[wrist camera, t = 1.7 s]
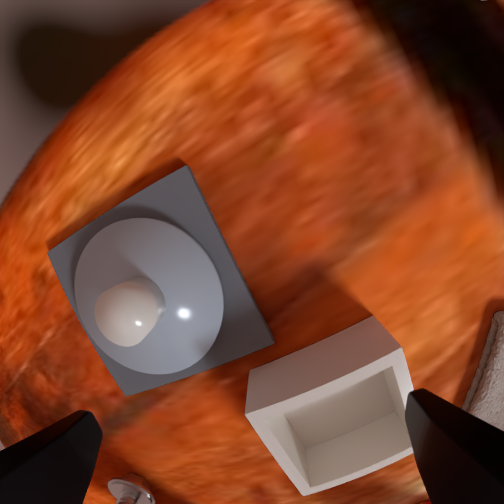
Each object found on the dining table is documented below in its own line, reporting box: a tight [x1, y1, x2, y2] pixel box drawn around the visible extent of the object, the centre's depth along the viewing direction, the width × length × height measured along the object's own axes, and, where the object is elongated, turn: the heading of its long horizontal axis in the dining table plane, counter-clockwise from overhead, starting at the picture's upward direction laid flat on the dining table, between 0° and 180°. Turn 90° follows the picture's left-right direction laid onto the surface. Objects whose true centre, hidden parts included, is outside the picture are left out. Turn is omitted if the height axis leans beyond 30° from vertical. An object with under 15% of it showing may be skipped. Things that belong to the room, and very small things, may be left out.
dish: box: [245, 316, 414, 496], centre depth 18 cm, size 9×9×5 cm
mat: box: [47, 165, 274, 396], centre depth 19 cm, size 12×12×1 cm
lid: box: [74, 218, 225, 374], centre depth 17 cm, size 10×10×4 cm
